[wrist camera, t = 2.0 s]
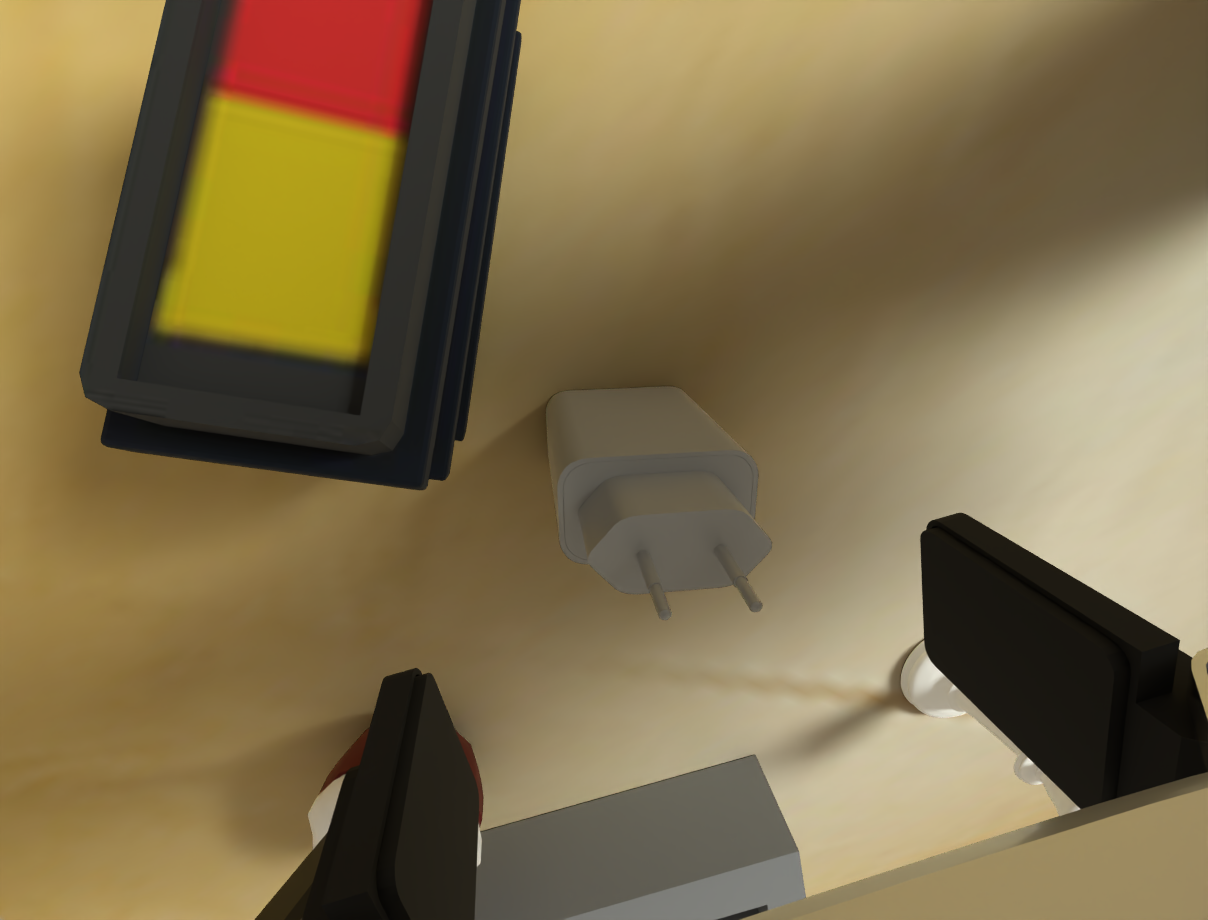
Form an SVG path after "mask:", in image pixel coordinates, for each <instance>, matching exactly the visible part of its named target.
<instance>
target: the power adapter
mask: <svg viewBox="0 0 1208 920" xmlns="http://www.w3.org/2000/svg"><path fill="white" fill-rule="evenodd" d="M546 426H547V447H548V458H549V466H550V473H551V481H552V489H553V496H554V504H555V511H556V519H557V526H558V534H559V541H560V546H561V549H562V551H563V552H564V554H565V555H566V556H567V557H568V558H569V559H570V560H572V561H574V562H576V563H580V564H590V566H591V567H592V568H593V569H594V570H595V571H596V572H597V573H598V574H599V575H601V576H602V577H603V578H604V579H605V580H606V581H607V582H608V583H609V584H610V585H612V586H613V587H614V588H615V589H616V590H618V591H620V592H623V593H627V594H648V593H650V594H651V597H652V599H653V602H654V605H655V608H656V610H657V613H658V616H659V618H660V619H662V620H668V619H669V618H670V617H671V616H672V612H671V609H670V607H669V604H668V602H667V599H666V597H665V594H664V592H672V591H684V590H696V589H708V588H720V587H726V586H731V585H734V586H735V587H736V588H737V589H738V591H739V592H740V594H741V596H742V597H743V599H744V600H745V602H746V604H747V605H748V607H749V609H750V610H751V611H752V612H758V611H760V610H761V609H762V606H763V605H762V603H761V601H760V600H759V598H758V597H757V595H756V594H755V592H754V591H753V589H752V587H751V586H750V584H749V583H748V580H747V578H746V576H747V575H748V574H749V573H750V572H751V571H752V570H753V569H754V568H755V567H756V566H757V565H758V564H759V563H760V562H761V561H762V559H763V558H764V557H765V556H766V555H767V554H768V553H769V552H770V550H771V549H772V542H771V540H770V538H769V537H768V536H767V534H766V533H765V532H764V531H763V529H762V528H761V527H760V526H759V525H758V523H757V522H756V521H755V510H756V498H757V486H758V468H757V465H756V463H755V461H754V459H753V458H752V457H751V456H750V455H749V454H748V453H747V452H746V451H745V450H744V449H743V448H742V447H741V446H740V445H739V444H738V443H737V442H736V441H735V440H734V439H733V438H732V437H731V436H729V435H728V434H727V433H726V432H725V431H724V430H723V429H722V428H721V427H720V426H719V425H718V424H717V423H716V422H715V421H714V420H713V419H712V418H711V417H710V416H709V415H708V414H707V413H706V412H705V411H704V410H703V409H702V408H701V407H700V406H699V405H698V404H697V403H695V402H694V401H693V400H692V399H691V398H690V397H689V396H688V395H687V394H686V393H685V392H684V391H683V390H682V389H680V388H677V387H672V386H663V387H639V388H616V389H592V390H569V391H562V392H559V393H557V394H555V395H554V396H553V397H552V398H551V399H550V400H549V402H548V404H547V407H546Z"/></svg>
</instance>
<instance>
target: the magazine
mask: <svg viewBox="0 0 1208 920" xmlns="http://www.w3.org/2000/svg"><path fill="white" fill-rule="evenodd" d="M520 3H521V0H166V2H165V7H164V11H163V15H162V20H161V24H160V28H159V32H158V37H157V41H156V45H155V50H154V54H153V58H152V62H151V67H150V71H149V75H148V80H147V84H146V88H145V93H144V97H143V101H142V105H141V110H140V114H139V118H138V123H137V127H136V131H135V136H134V140H133V144H132V148H131V153H130V157H129V161H128V166H127V170H126V174H125V179H124V183H123V187H122V191H121V196H120V200H119V204H118V209H117V213H116V217H115V221H114V226H113V230H112V234H111V239H110V243H109V247H108V252H107V256H106V260H105V264H104V269H103V273H102V277H101V282H100V286H99V290H98V295H97V299H96V303H95V307H94V312H93V316H92V320H91V325H90V329H89V333H88V338H87V342H86V346H85V350H84V355H83V359H82V363H81V368H80V372H79V373H80V377H81V381H82V386H83V390H84V394H85V397H86V398H88V399H90V400H92V401H94V402H95V403H97V404H99V405H101V406H103V407H104V408H106V409H107V413H106V418H105V422H104V427H103V431H102V436H101V443H102V444H103V445H105V446H107V447H110V448H116V449H121V450H127V451H132V452H138V453H145V454H153V455H160V456H168V457H175V458H182V459H190V460H197V461H205V462H212V463H220V464H227V465H235V466H242V467H249V468H257V469H264V470H272V471H279V472H287V473H294V474H302V475H309V476H317V477H324V478H331V479H339V480H346V481H354V482H361V483H369V484H376V485H384V486H391V487H399V488H406V489H413V490H425V489H426V487H427V486H428V480H429V479H434V480H441V481H443V480H446V478H447V477H448V475H449V474H450V467H451V461H452V454H453V447H454V441H455V440H457V441H463V439H464V436H465V433H466V427H467V420H468V413H469V406H470V399H471V392H472V385H473V378H474V371H475V364H476V357H477V350H478V343H479V336H480V329H481V322H482V315H483V308H484V301H485V294H486V287H487V280H488V273H489V266H490V259H491V252H492V244H493V237H494V230H495V223H496V216H497V209H498V202H499V195H500V188H501V181H502V174H503V167H504V160H505V153H506V146H507V139H508V132H509V125H510V118H511V111H512V104H513V97H514V90H515V83H516V76H517V69H518V62H519V55H520V47H521V33H520V32H518V31H516V29H517V23H518V16H519V10H520Z"/></svg>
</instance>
